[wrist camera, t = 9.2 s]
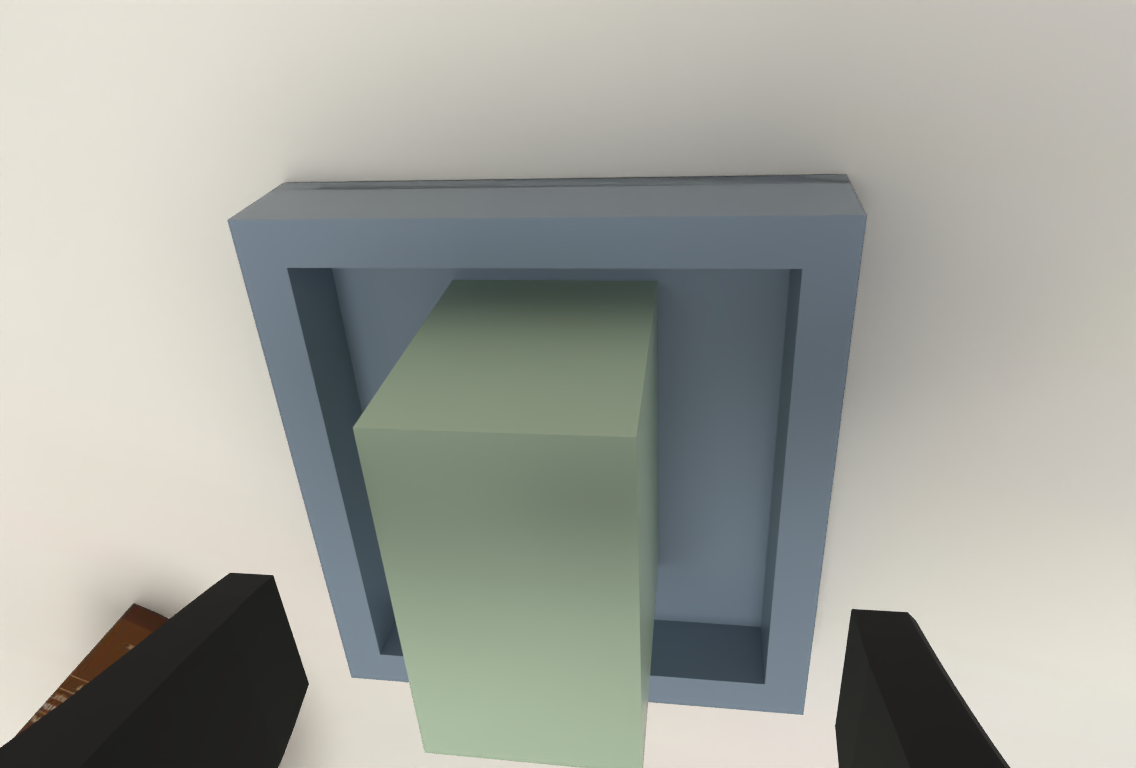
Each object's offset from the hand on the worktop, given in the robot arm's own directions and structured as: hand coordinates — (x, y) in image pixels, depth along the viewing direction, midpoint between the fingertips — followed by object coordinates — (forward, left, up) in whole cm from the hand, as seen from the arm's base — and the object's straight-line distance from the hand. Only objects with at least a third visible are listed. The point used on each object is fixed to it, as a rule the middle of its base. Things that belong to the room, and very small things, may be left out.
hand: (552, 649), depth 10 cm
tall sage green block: (+1, +3, -9) cm, 10 cm away
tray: (+1, +3, -10) cm, 10 cm away
